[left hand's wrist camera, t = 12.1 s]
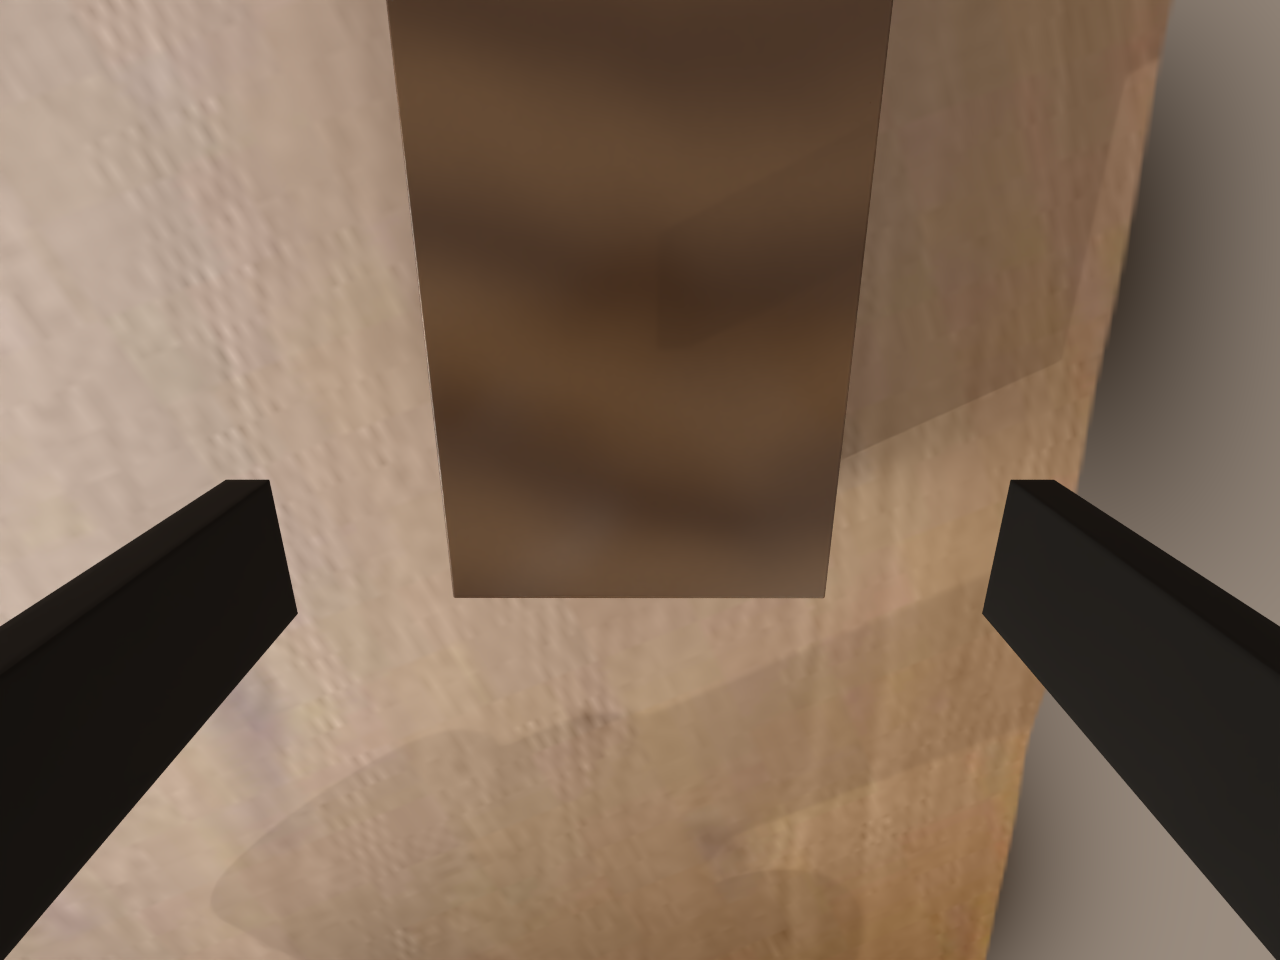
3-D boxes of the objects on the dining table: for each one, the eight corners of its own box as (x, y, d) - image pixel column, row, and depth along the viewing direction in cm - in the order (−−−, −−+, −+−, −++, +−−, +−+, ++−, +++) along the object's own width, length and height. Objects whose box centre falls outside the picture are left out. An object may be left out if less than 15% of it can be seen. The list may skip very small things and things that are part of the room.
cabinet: (460, -86, 20) (356, -259, 13) (819, -85, 20) (923, -259, 13) (504, 491, 27) (453, 598, 20) (774, 491, 27) (824, 598, 20)
